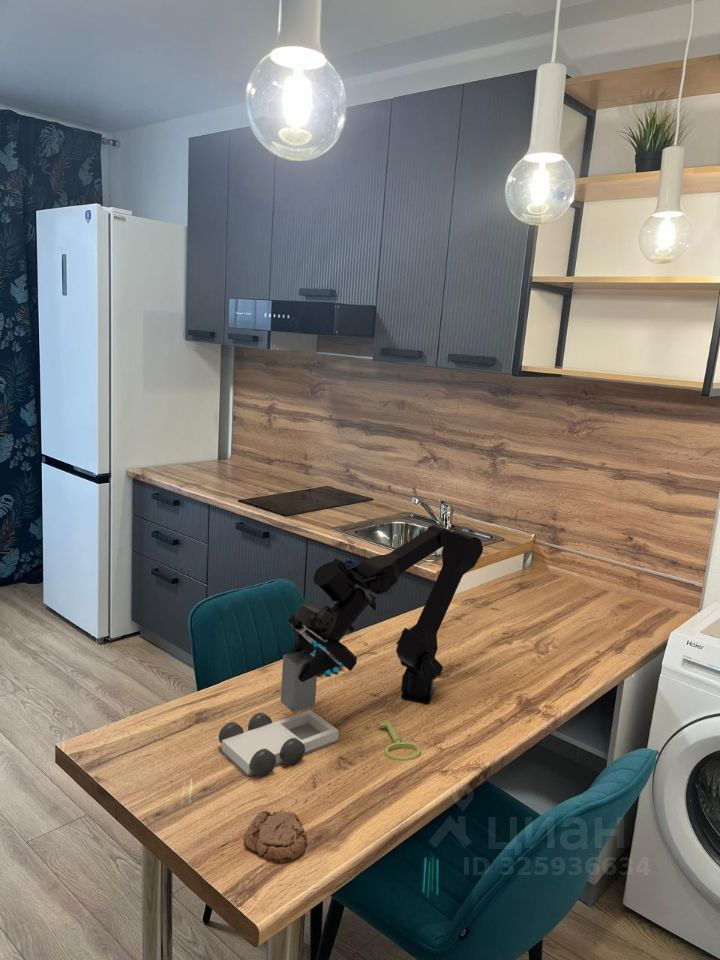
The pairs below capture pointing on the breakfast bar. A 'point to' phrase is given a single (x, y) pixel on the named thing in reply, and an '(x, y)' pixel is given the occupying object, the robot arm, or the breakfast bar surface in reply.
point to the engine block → (297, 682)
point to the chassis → (275, 741)
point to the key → (398, 744)
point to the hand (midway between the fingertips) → (293, 674)
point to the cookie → (276, 836)
